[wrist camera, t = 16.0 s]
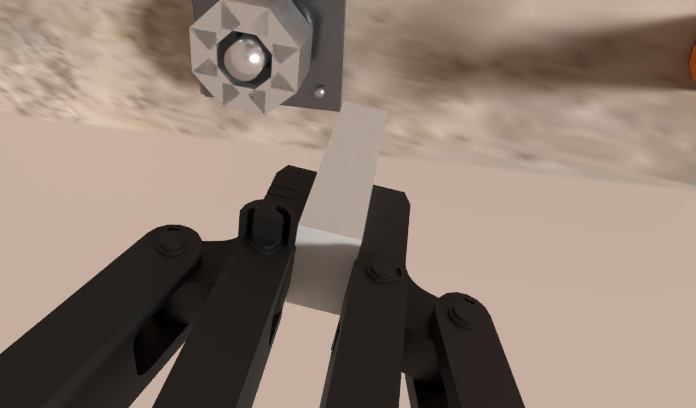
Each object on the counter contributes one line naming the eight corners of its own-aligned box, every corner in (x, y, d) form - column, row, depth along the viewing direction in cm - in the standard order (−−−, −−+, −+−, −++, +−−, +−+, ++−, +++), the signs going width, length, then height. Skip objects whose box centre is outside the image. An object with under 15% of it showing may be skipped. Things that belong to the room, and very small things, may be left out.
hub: (207, 94, 50) (173, 130, 44) (187, -58, 42) (141, -41, 35) (340, 109, 49) (325, 148, 43) (347, -44, 41) (330, -24, 34)
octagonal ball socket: (214, 78, 46) (193, 100, 42) (211, -22, 41) (187, -8, 37) (306, 97, 46) (294, 120, 42) (316, -2, 40) (302, 14, 36)
